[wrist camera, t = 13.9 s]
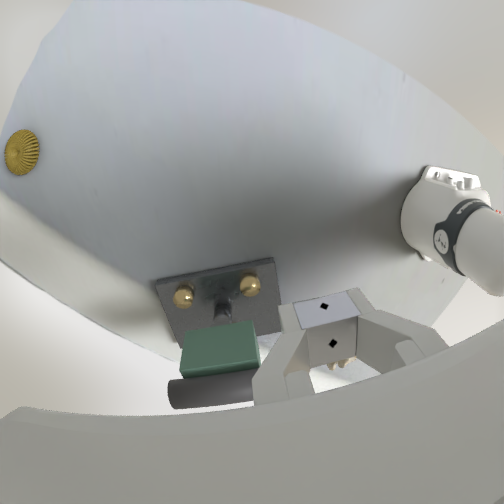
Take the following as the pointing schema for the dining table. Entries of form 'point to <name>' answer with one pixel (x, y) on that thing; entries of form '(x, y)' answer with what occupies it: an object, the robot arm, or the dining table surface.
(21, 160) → the sculpture
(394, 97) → the dining table surface
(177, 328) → the plate
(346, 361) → the bone
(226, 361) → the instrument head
